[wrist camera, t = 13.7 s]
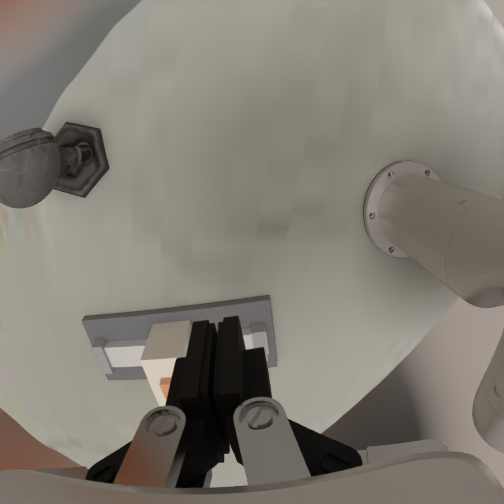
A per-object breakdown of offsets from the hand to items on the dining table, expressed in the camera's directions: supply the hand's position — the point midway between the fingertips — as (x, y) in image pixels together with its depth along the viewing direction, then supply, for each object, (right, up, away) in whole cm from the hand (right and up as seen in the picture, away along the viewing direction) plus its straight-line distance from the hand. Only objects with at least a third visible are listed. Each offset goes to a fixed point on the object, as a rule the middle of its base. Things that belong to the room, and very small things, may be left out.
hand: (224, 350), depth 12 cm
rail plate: (-9, -9, +31) cm, 34 cm away
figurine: (-20, +15, +22) cm, 33 cm away
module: (-9, -9, +30) cm, 33 cm away
